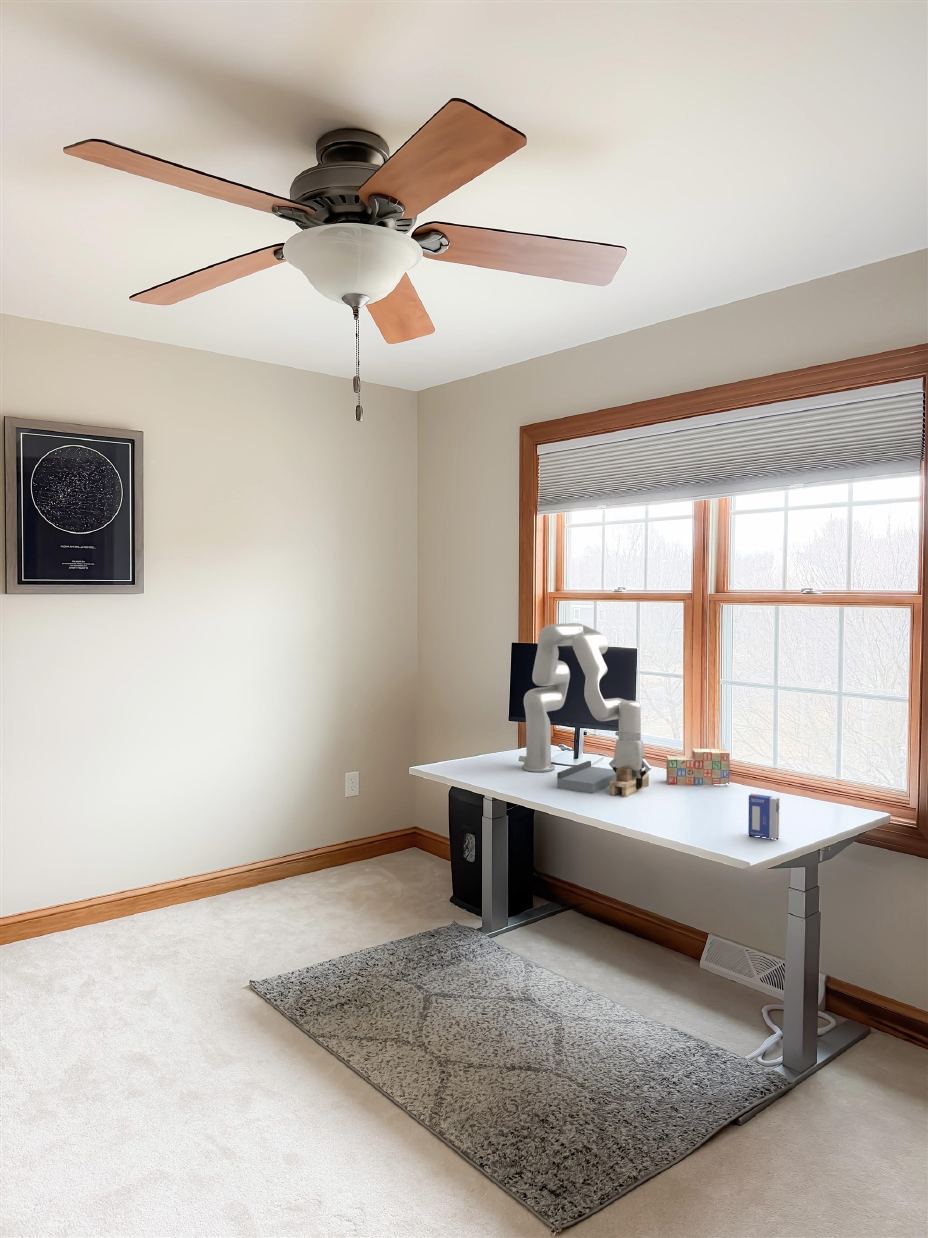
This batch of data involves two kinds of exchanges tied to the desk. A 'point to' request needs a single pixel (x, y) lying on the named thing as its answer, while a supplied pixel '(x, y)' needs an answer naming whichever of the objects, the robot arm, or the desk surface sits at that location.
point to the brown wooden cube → (624, 774)
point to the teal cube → (635, 773)
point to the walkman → (763, 816)
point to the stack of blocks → (699, 768)
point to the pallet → (627, 786)
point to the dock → (585, 778)
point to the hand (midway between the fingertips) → (629, 787)
